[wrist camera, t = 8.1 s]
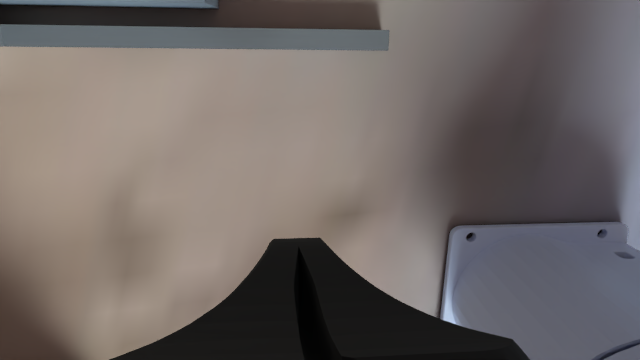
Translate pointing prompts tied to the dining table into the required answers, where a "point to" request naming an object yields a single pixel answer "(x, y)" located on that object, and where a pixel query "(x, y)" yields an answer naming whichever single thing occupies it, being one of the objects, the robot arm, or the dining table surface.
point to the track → (191, 37)
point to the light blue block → (120, 3)
